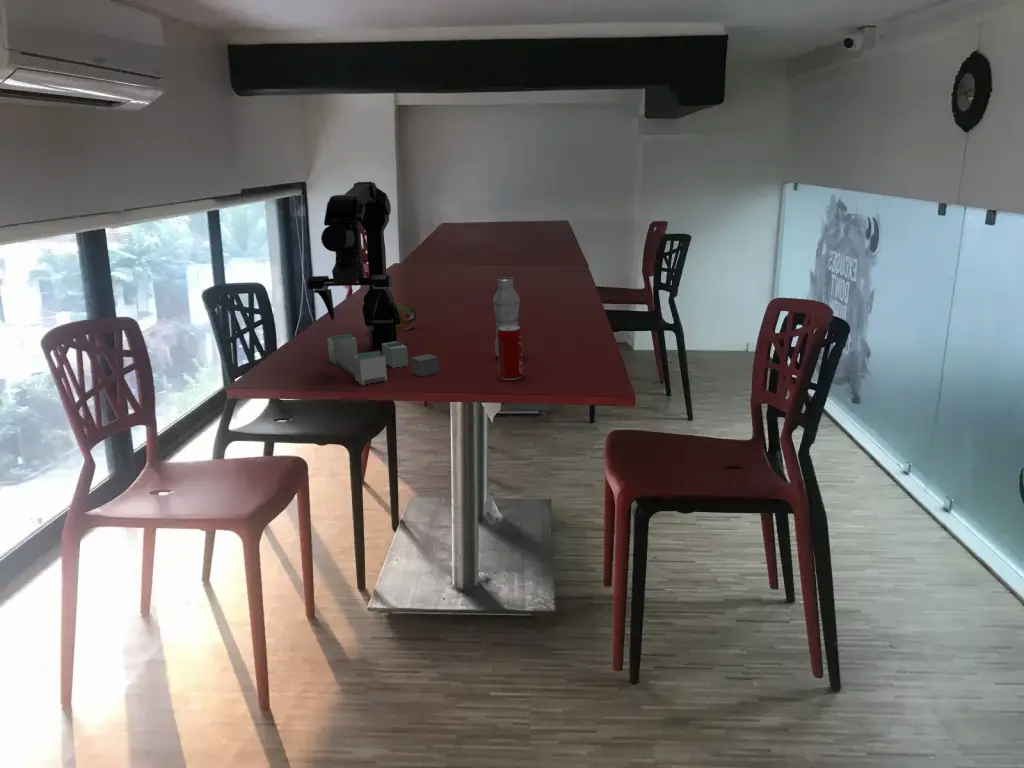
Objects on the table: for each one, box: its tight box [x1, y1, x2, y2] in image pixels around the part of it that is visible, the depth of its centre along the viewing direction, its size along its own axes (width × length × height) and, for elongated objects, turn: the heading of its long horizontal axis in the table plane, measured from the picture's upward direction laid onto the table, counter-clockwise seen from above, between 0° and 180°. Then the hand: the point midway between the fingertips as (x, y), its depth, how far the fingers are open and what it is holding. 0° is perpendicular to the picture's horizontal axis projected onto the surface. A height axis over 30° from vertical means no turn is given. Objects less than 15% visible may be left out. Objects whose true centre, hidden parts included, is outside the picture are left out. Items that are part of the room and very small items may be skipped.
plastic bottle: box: [492, 276, 521, 357], centre depth 194 cm, size 6×7×20 cm
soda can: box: [497, 325, 524, 381], centre depth 178 cm, size 6×6×12 cm
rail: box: [327, 333, 388, 386], centre depth 189 cm, size 6×26×7 cm, turn 29°
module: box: [381, 340, 409, 369], centre depth 194 cm, size 4×7×5 cm, turn 29°
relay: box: [410, 353, 440, 377], centre depth 185 cm, size 5×4×4 cm
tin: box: [366, 302, 417, 333], centre depth 228 cm, size 15×3×8 cm, turn 114°
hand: (352, 319), depth 182 cm, fingers open, 9 cm apart
